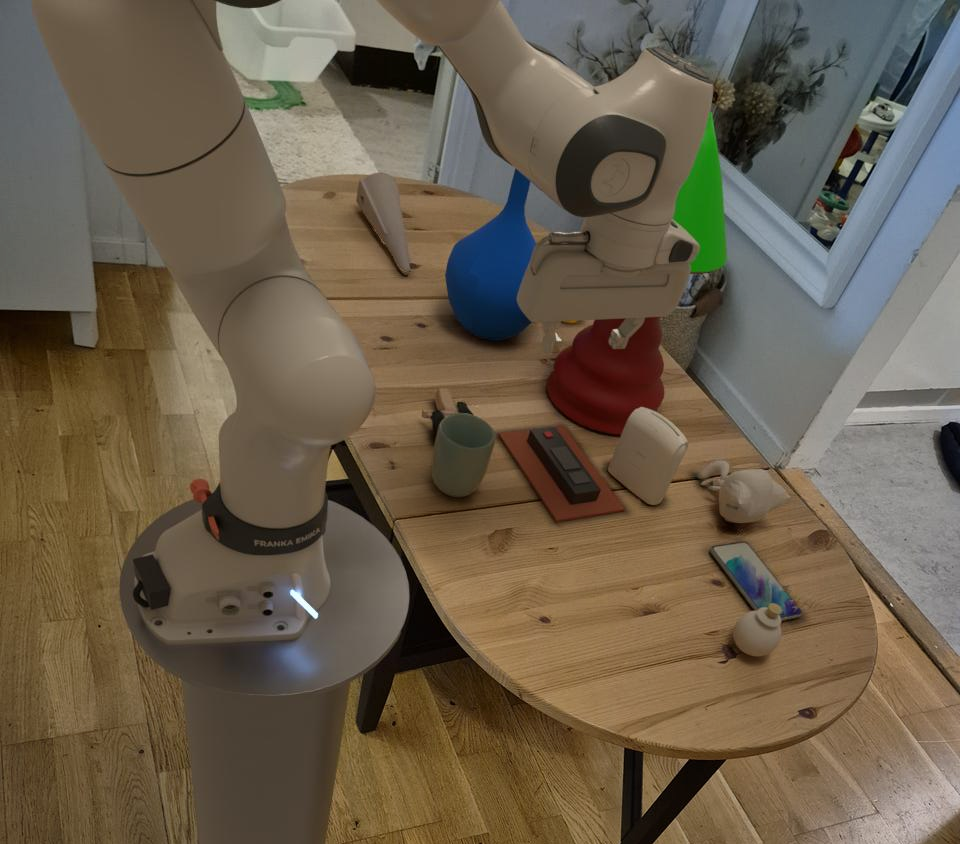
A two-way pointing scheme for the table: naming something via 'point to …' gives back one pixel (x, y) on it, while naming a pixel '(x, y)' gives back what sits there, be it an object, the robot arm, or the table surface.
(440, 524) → the table surface
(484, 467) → the cup
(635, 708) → the table surface
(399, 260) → the grey long tapered piece
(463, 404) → the toy figure
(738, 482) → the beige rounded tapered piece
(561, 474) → the remote
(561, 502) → the mat
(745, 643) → the ornament
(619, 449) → the photo printer
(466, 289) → the vase
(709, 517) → the table surface
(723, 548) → the smartphone
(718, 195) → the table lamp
